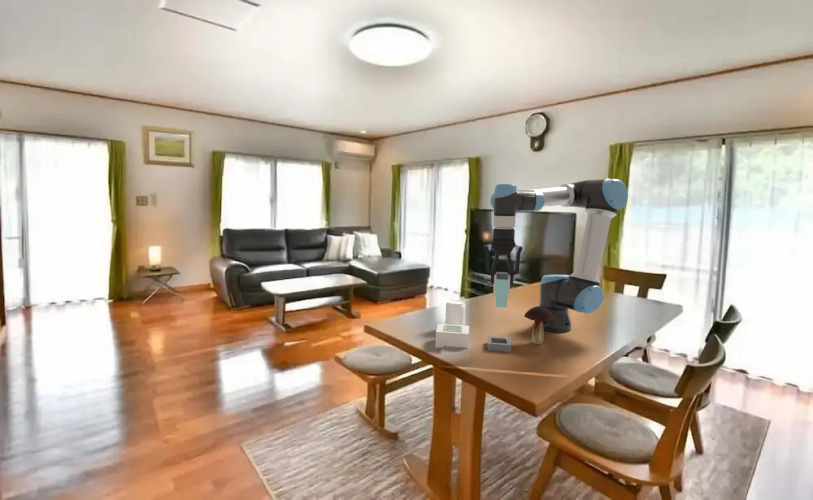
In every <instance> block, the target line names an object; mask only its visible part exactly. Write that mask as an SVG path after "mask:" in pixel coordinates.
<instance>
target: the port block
mask: <svg viewBox="0 0 813 500" xmlns="http://www.w3.org/2000/svg"><path fill="white" fill-rule="evenodd" d="M469 339H470V325H465V326H464V325H449V324H445V323H438V324H437V327H436V330H435V349H436V348H438V349H439V348H440V349H444V347H448V348H465V349H469V342H470V341H469Z"/></svg>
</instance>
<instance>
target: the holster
mask: <svg viewBox="0 0 813 500" xmlns="http://www.w3.org/2000/svg"><path fill="white" fill-rule="evenodd" d="M486 343H487V351H489V352H492V351H493V352H504V353H512V352H511V351H512V343H511V339H510V337H501V336H491V335H490V336H489V335H487V341H486Z"/></svg>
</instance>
